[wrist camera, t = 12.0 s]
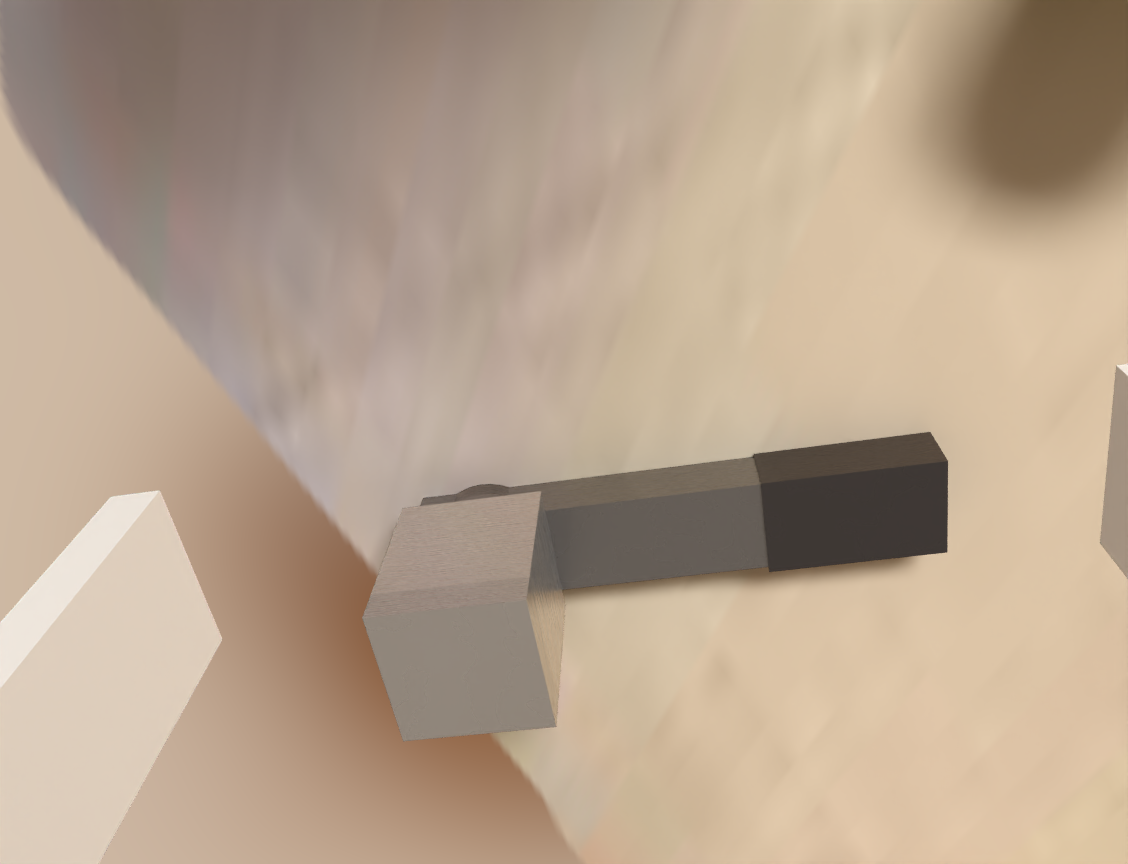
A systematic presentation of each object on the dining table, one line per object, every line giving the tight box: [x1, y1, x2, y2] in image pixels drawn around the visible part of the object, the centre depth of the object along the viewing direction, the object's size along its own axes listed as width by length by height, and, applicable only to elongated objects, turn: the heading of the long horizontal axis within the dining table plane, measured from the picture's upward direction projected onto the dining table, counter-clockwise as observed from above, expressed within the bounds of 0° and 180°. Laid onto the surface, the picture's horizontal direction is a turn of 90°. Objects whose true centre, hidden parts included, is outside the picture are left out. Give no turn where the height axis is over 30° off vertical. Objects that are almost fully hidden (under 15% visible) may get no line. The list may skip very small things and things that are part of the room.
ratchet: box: [421, 432, 948, 590], centre depth 44 cm, size 24×5×6 cm, turn 100°
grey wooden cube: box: [362, 491, 566, 741], centre depth 43 cm, size 6×6×8 cm
